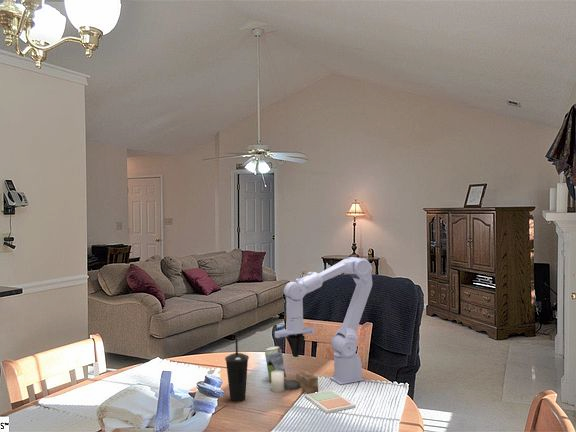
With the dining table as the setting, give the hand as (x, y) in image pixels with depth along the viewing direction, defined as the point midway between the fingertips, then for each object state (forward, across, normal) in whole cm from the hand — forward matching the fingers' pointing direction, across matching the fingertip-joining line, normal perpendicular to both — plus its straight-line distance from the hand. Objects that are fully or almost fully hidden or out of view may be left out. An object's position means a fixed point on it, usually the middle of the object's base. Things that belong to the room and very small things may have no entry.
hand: (295, 356), depth 175 cm
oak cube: (+11, -3, 0) cm, 11 cm away
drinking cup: (+11, +22, +2) cm, 24 cm away
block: (+11, -2, +6) cm, 13 cm away
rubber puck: (+11, +2, 0) cm, 11 cm away
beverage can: (+11, +4, -9) cm, 14 cm away
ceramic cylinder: (+11, +7, 0) cm, 13 cm away
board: (+10, -3, +18) cm, 21 cm away
